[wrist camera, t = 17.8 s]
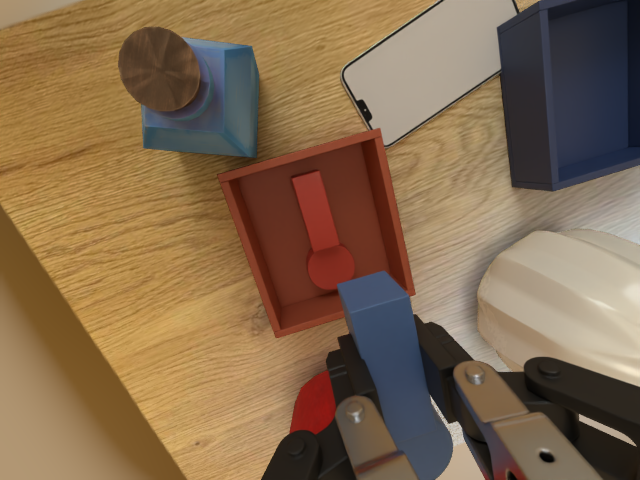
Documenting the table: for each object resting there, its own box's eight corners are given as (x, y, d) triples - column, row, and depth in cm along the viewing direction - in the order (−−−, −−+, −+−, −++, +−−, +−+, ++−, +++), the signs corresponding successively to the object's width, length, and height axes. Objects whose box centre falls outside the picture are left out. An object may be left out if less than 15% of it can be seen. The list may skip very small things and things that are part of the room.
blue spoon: (316, 289, 13) (324, 320, 11) (404, 264, 14) (434, 287, 11) (366, 466, 16) (383, 527, 13) (440, 442, 16) (472, 498, 13)
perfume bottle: (256, 157, 26) (236, 154, 14) (176, 151, 25) (84, 142, 13) (259, 74, 24) (238, -6, 13) (174, 65, 23) (68, -31, 12)
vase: (568, 195, 30) (788, 221, 17) (596, 313, 33) (795, 408, 20) (437, 260, 30) (557, 336, 17) (480, 370, 33) (605, 502, 20)
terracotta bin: (227, 172, 26) (216, 174, 21) (364, 133, 26) (380, 127, 22) (276, 312, 29) (275, 339, 25) (396, 275, 30) (416, 295, 25)
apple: (396, 411, 33) (470, 572, 20) (307, 449, 33) (324, 636, 20) (364, 330, 31) (425, 456, 18) (266, 371, 30) (255, 530, 17)
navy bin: (494, 28, 25) (539, 0, 21) (627, -9, 26) (697, -43, 21) (512, 187, 29) (552, 191, 24) (628, 152, 29) (688, 150, 25)
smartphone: (534, 50, 26) (382, 153, 26) (528, 52, 26) (380, 153, 27) (499, -43, 24) (335, 70, 24) (493, -37, 25) (334, 72, 25)
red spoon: (279, 179, 26) (279, 181, 23) (326, 166, 26) (331, 166, 23) (313, 287, 28) (316, 301, 26) (355, 274, 28) (363, 286, 26)
